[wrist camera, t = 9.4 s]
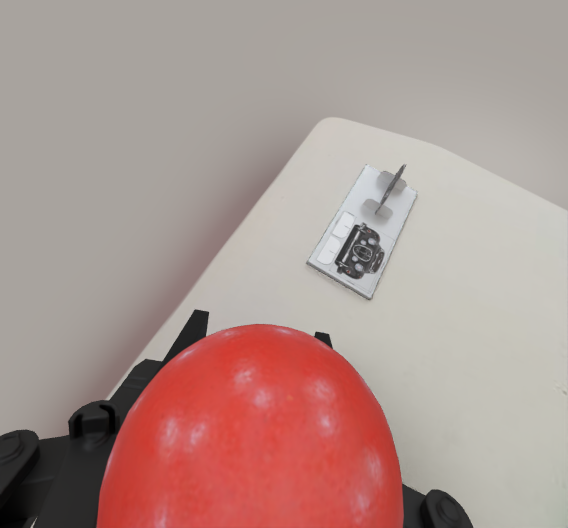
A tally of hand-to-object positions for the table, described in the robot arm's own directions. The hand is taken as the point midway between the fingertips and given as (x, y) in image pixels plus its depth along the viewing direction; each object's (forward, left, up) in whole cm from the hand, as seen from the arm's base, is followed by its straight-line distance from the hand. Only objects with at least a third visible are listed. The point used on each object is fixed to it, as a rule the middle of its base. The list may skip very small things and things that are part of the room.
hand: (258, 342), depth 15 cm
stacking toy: (+1, -3, -7) cm, 8 cm away
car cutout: (+4, +17, -7) cm, 19 cm away
